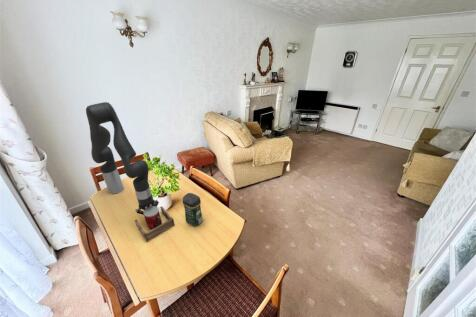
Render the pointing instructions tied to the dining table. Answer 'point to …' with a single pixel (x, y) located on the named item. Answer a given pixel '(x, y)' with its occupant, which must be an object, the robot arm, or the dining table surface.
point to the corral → (158, 229)
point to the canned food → (152, 217)
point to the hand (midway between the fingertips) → (150, 217)
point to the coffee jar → (192, 209)
